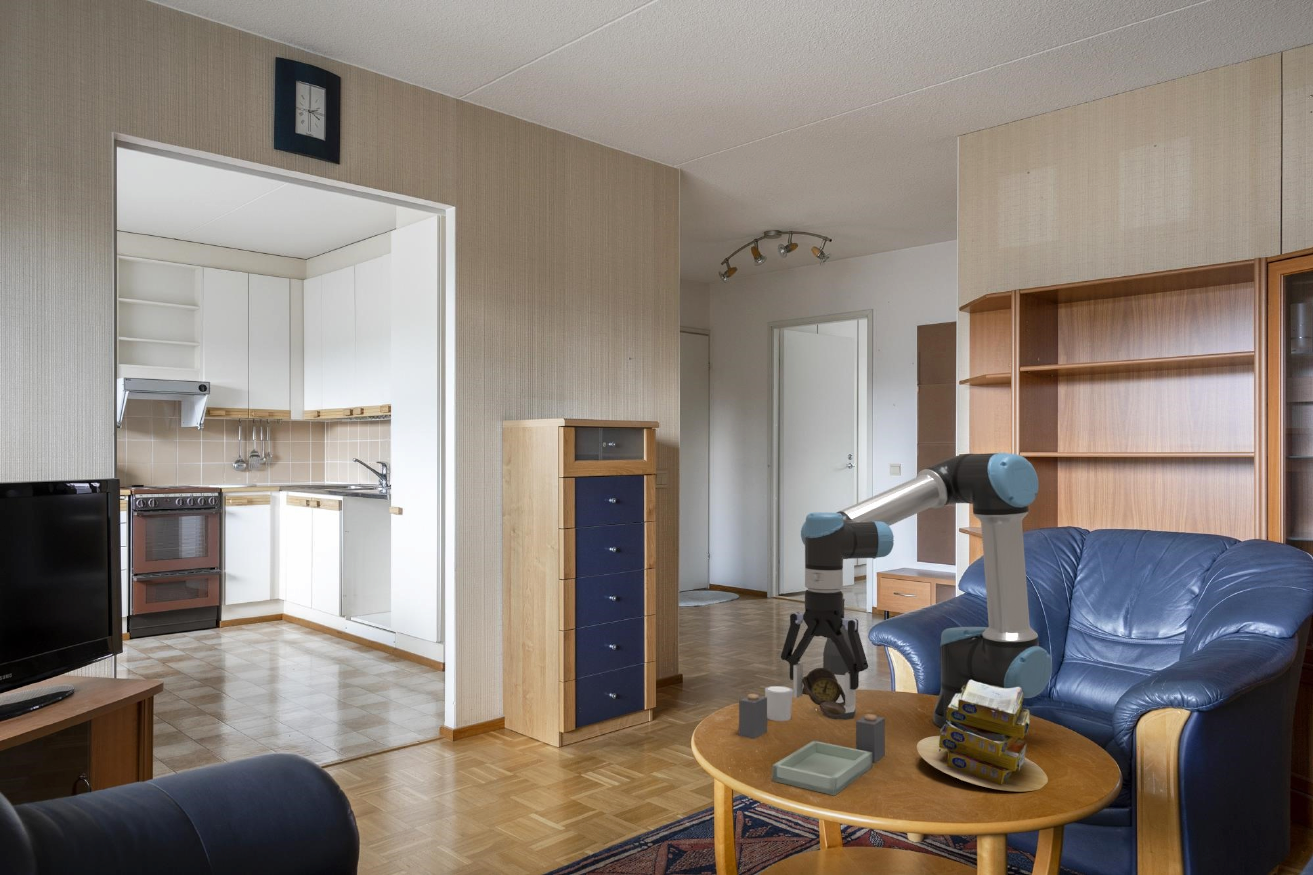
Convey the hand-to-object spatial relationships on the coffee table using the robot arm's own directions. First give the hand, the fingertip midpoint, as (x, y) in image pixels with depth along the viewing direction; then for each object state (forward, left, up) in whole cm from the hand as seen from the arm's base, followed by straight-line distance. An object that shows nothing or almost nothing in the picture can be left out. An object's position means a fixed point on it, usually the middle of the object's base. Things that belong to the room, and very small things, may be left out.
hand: (823, 700), depth 175 cm
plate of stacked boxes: (-25, -21, -15) cm, 36 cm away
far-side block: (+24, -15, -14) cm, 32 cm away
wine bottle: (+14, -41, -15) cm, 46 cm away
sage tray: (0, 0, -14) cm, 14 cm away
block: (-4, -15, -14) cm, 21 cm away
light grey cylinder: (+25, -30, -15) cm, 42 cm away
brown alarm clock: (0, 0, -2) cm, 2 cm away
